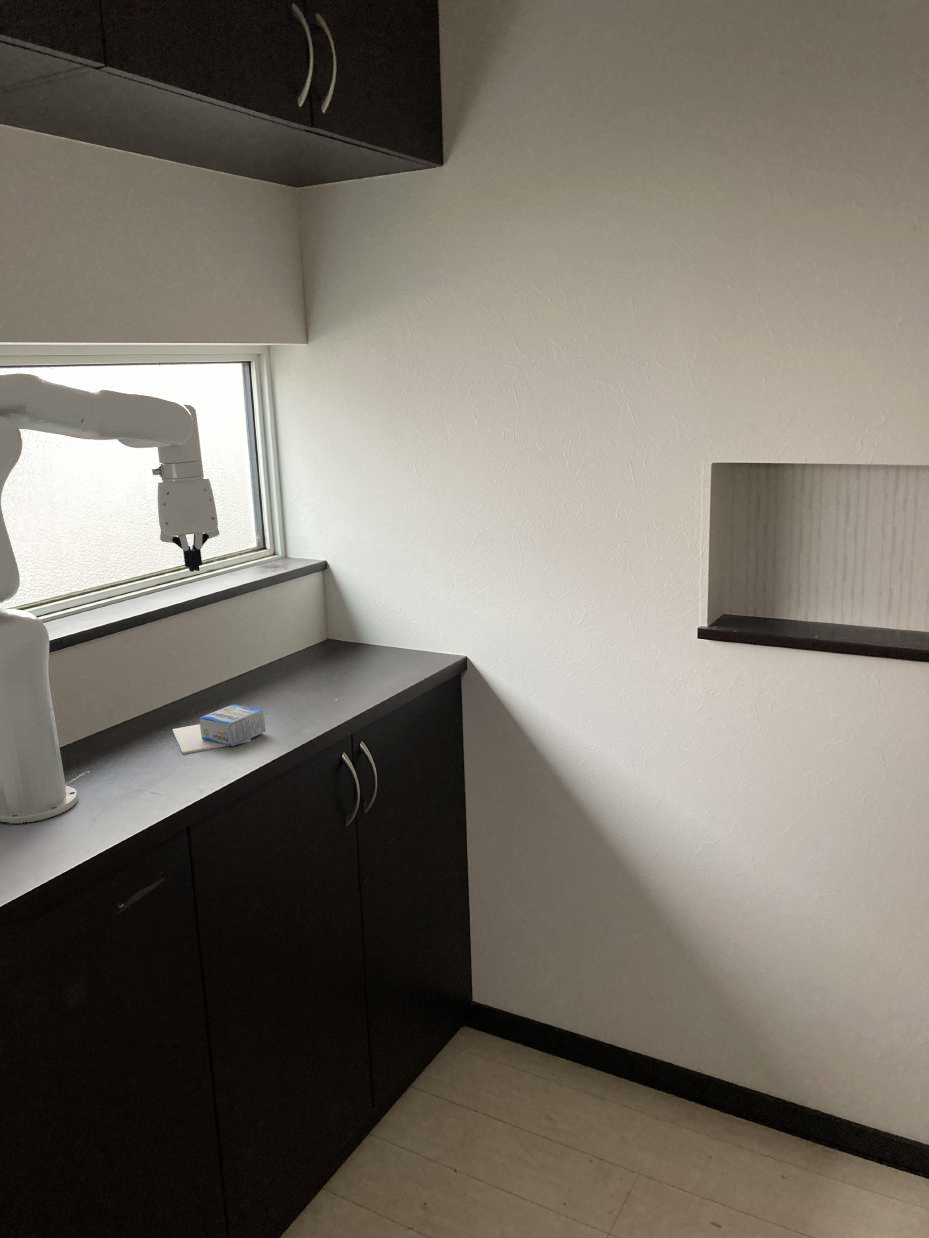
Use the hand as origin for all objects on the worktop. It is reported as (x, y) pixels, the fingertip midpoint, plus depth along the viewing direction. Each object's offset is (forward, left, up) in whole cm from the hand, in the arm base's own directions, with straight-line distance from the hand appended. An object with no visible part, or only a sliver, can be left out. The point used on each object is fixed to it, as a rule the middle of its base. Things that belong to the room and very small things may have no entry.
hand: (194, 570), depth 191 cm
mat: (-2, -11, -29) cm, 31 cm away
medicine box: (+5, -12, -26) cm, 30 cm away
